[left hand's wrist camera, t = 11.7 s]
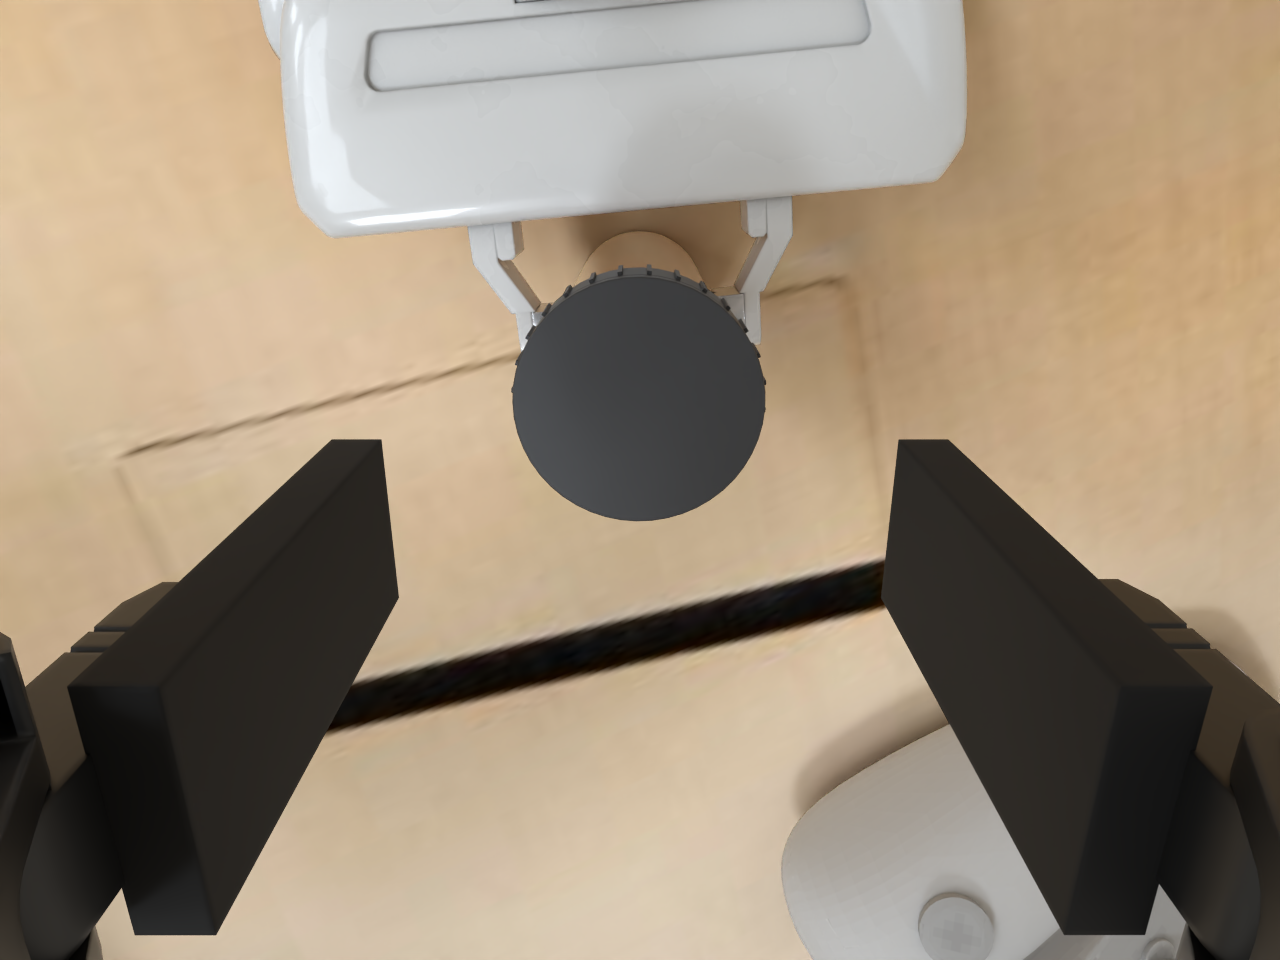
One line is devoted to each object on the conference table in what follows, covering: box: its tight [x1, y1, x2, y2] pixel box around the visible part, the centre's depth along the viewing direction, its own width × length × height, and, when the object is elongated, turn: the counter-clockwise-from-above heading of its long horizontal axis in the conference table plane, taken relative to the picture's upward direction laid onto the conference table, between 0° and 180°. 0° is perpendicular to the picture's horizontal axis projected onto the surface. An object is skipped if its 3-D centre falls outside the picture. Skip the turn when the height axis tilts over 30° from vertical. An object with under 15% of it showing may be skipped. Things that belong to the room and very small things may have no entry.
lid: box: [511, 264, 766, 521], centre depth 21 cm, size 6×6×2 cm
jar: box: [574, 231, 703, 286], centre depth 28 cm, size 5×5×16 cm
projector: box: [781, 660, 1246, 960], centre depth 37 cm, size 22×23×15 cm
